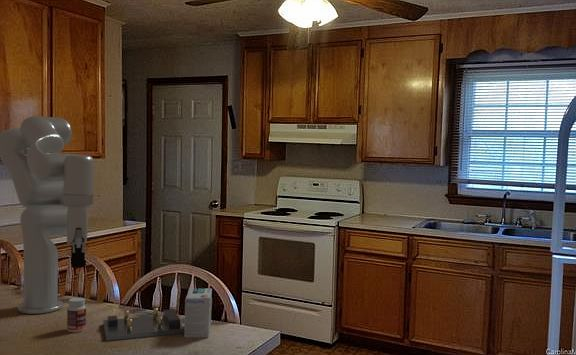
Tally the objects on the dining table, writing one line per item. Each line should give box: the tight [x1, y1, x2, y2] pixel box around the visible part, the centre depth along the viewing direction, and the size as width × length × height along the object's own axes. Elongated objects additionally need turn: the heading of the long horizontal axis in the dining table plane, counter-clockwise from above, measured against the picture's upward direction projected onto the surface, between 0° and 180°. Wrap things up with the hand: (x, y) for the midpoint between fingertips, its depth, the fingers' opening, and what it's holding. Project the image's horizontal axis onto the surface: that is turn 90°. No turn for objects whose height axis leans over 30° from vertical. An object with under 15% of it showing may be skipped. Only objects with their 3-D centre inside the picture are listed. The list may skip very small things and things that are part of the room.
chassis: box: [102, 307, 185, 342], centre depth 147 cm, size 14×20×4 cm
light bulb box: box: [183, 287, 213, 339], centre depth 146 cm, size 11×7×11 cm, turn 5°
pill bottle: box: [66, 297, 87, 333], centre depth 144 cm, size 5×5×8 cm
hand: (77, 263), depth 144 cm, fingers open, 9 cm apart
